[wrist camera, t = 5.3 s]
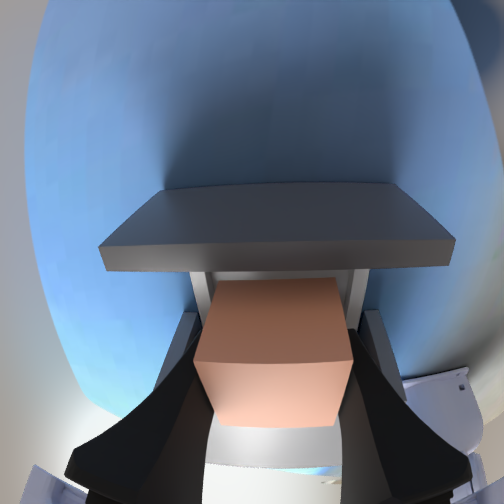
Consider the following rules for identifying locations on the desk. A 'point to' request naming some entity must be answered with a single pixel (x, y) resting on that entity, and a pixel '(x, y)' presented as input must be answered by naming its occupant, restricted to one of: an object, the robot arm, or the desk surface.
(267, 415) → the terracotta block
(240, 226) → the tray
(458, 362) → the desk surface
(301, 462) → the player housing
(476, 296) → the desk surface
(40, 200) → the desk surface
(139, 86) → the desk surface
